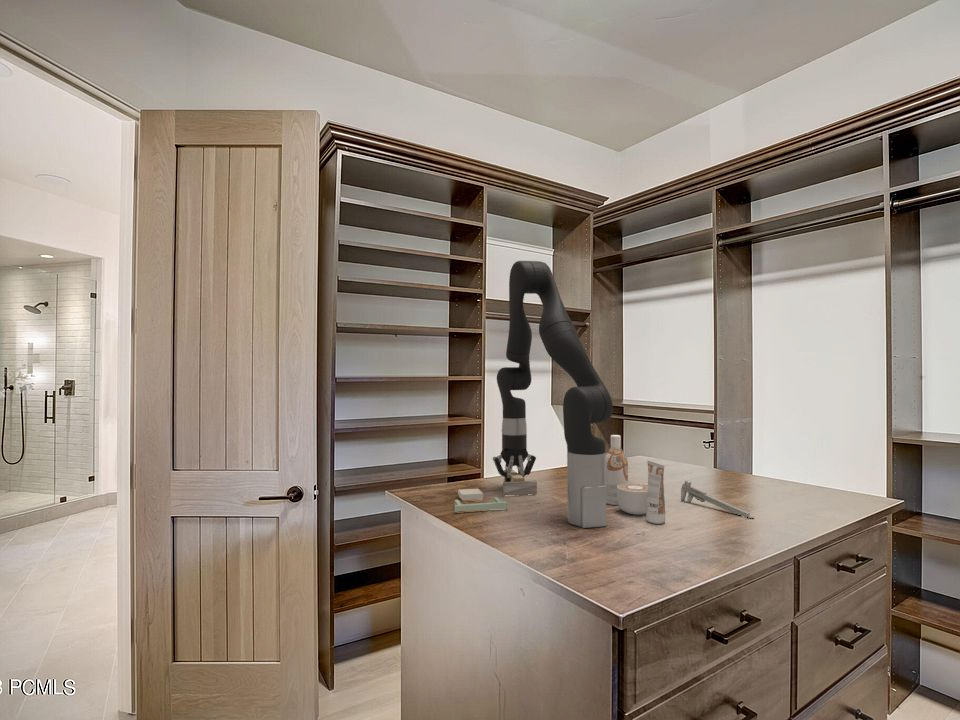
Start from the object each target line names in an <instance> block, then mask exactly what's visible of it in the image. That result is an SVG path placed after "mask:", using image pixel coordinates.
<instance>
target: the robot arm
mask: <svg viewBox="0 0 960 720" xmlns="http://www.w3.org/2000/svg"><path fill="white" fill-rule="evenodd" d="M508 283H509V284H508V297H509V298H508V306H509V307H508V308H509V311H508V312H509V315H508V316H509V324H508V325H509V328H508V337H507V344H506V351H505V356H506V360H508V361H510V362H513V363H516V364H518V366H517V367H516V366H513V367H512V366H511V367H501V368H500V369H499V370H498V371H497V374H496V383H497V387H498V390H499V394H500V397H501V403H502V422H501V451H500V455H497V456H492V461H493V464H494V466H495V467H496V470H497V472H498V474H499V475H500V476H502V477H503V478H504V477H505V482H511V478H510V476H511V471H512V470H513V467H516V468H517V473H518V474H520V475H521V476H522V477H524V478H525V477H526V476H527V475H528V476H529V475H531V471H532V469H533V467H534V465H535V462H536V459H537V457H536V456H535V455H534V454H529V452H528V448H527V447H528V444H527V443H528V442H527V441H528V440H527V438H528V436H527V435H528V433H527V419H526V417H527V416H526V415H527V414H526V413H527V412H526V411H527V410H526V400H525V399H523V398H520V397H516V396H513V394H512V391H526V390H527V389H529V387H530V386H531V384H532V373H531V367H530V366H531V364H530V363H531V361H530V354H531V353H530V351H531V346H532V339H533V334H532V329H531V325H530V323H529V320H528V317H527V315H526V313H525V312H526V311H525V307H524V298H525V294H526V295H527V294H528V295H529V294H530V295H531V294H536V295H537V296H538V298H539V299H540V301H541V305H542V307H543V308H542V312H541V316H540V320H539V325H538V333H539V337H540V339H541V341H542V342H541V343H542V344H543V346H544V349H545V351H546V353H547V354H548V356H549V357H550V358H551V359H552V360H553V361H554V362H555V363H556V364H557V365H558V366H559V367H560V368H561V369H563V371H565V372H566V373H567V374H568V375H569V376H570V377H571V378H572V380H573V381H574V383H575V384H576V386H573V387H570V388H569V389H567V391H566V392H565V394H564V396H563V397H564V398H563V402H562V414H563V415H562V416H563V419H562V420H563V431H564V432H563V433H564V440H565V444H566V450H567V451H566V452H567V453H566V457H567V458H566V461H567V462H566V464H567V465H566V466H567V468H566V472H567V475H566V476H567V477H566V480H567V481H566V484H567V485H566V491H567V493H566V494H567V496H566V498H567V500H566V502H567V503H566V505H567V507H566V510H567V512H566V513H567V523H569V524H571V525H573V526H577V527H580V528H583V529H586V528H599V527H601V528H602V527H607V503H606V475H605V464H606V458H605V456H606V453H607V452H606V441H605V440H603V439H602V438H599V437H596V436H595V435H594V434H593V432H592V426H591V425H593V424H601V423H605V422H607V421H609V420H610V419H611V416H612V415H613V410H614V408H613V407H614V405H613V399H612V396H611V394H610V393H609V390H608V389H607V387H606V385H605V384H604V382H603V381H602V379H601V377H600V375H599V374H598V372H597V370H596V369H595V367H594V366H593V364H592V362H591V360H590V357H589V355H588V354H587V352H586V350H585V348H584V346H583V344H582V341H581V340H580V337H579V334H578V332H577V331H576V328H575V325H574V324H573V322H572V320H571V318H570V316H569V314H568V312H567V310H566V307H565V305H564V303H563V301H562V298H561V295H560V292H559V289H558V286H557V284H556V280H555V278H554V275H553V273H552V270H551V268H550V267H549V265H548V264H547V263H546V262H543V261H538V260H537V261H535V260H518V261H515V262H514V263H513V264H512V266H511V269H510V272H509V281H508ZM502 460H503V461H504V463H505V465H504V466H505V467H504V468H503V466H502V464H501V463H502ZM525 460H527V462H526V465H525V467H524V463H525ZM504 470H505V472H504Z"/></svg>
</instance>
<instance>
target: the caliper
mask: <svg viewBox="0 0 960 720" xmlns="http://www.w3.org/2000/svg"><path fill="white" fill-rule="evenodd" d="M686 497H687V499H686ZM693 498H694V499H695V500H696V501H699V502H701V503H705V502H707V503H710V504H712V505H714V506H717V507H719V508H721V509H723V510H725V511H728V512H729V513H732V514H735V515H736V514H737V515H736V516H738V515H741V516H744V517H748V518H747V519H750V518H754V519H755V517H754V516H753V515H750V514H751V512H748V511H746V510H743V509H741V508H739V507H736V506H734V505H732V504H730V503H727V502H725V501H723V500H721V499H718V498H716V497H714V496H711V495H709V494H707V492H706V491H704V490H701V489H699V488H697V487H695V486H692V482H689V480H685V481H684V483H682V485H681V489H680V500H681V502H683V503H684V502H685V500H686V503H687V504H690V503H691V502H692V500H693ZM741 516H740V517H741ZM744 517H743V518H744Z"/></svg>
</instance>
